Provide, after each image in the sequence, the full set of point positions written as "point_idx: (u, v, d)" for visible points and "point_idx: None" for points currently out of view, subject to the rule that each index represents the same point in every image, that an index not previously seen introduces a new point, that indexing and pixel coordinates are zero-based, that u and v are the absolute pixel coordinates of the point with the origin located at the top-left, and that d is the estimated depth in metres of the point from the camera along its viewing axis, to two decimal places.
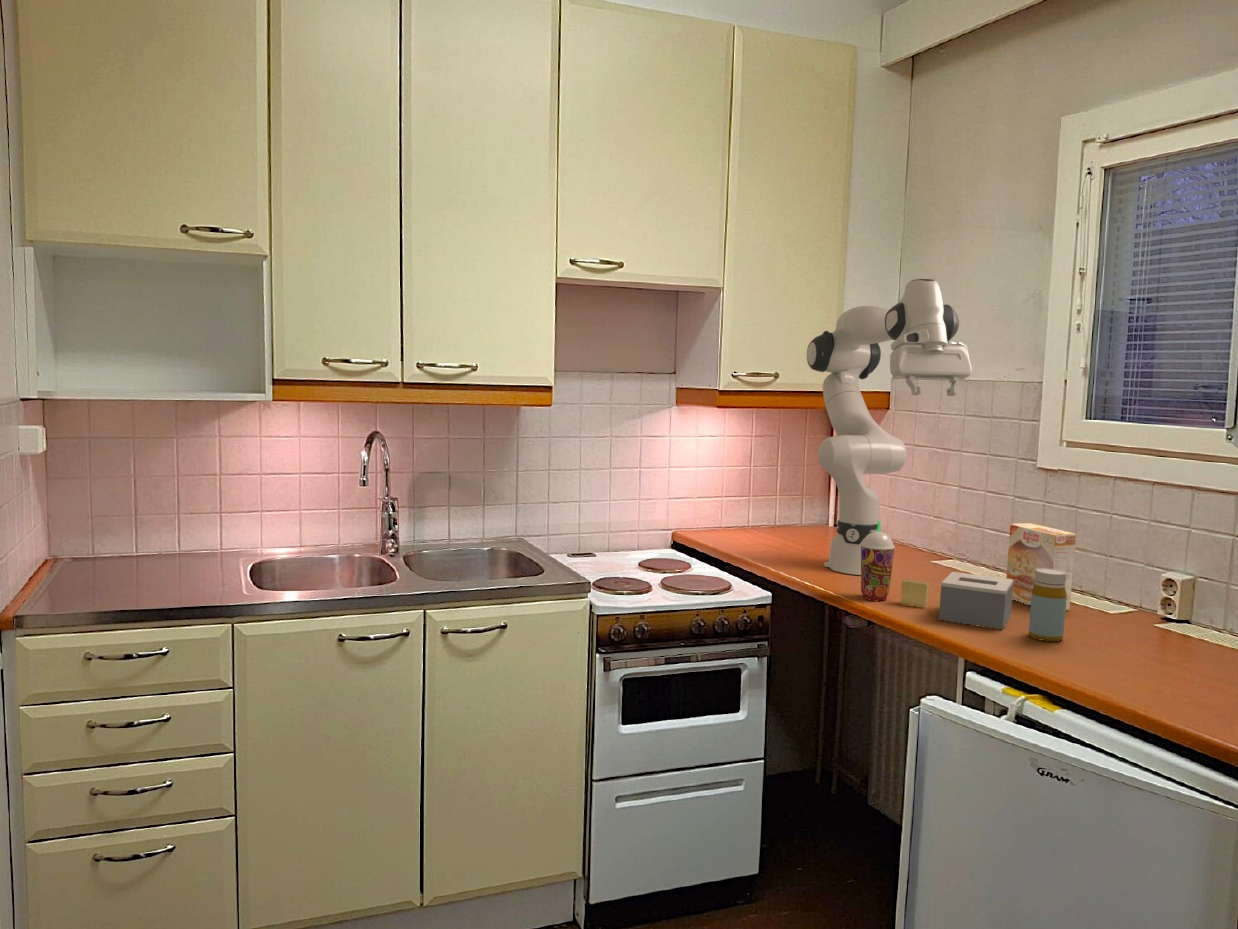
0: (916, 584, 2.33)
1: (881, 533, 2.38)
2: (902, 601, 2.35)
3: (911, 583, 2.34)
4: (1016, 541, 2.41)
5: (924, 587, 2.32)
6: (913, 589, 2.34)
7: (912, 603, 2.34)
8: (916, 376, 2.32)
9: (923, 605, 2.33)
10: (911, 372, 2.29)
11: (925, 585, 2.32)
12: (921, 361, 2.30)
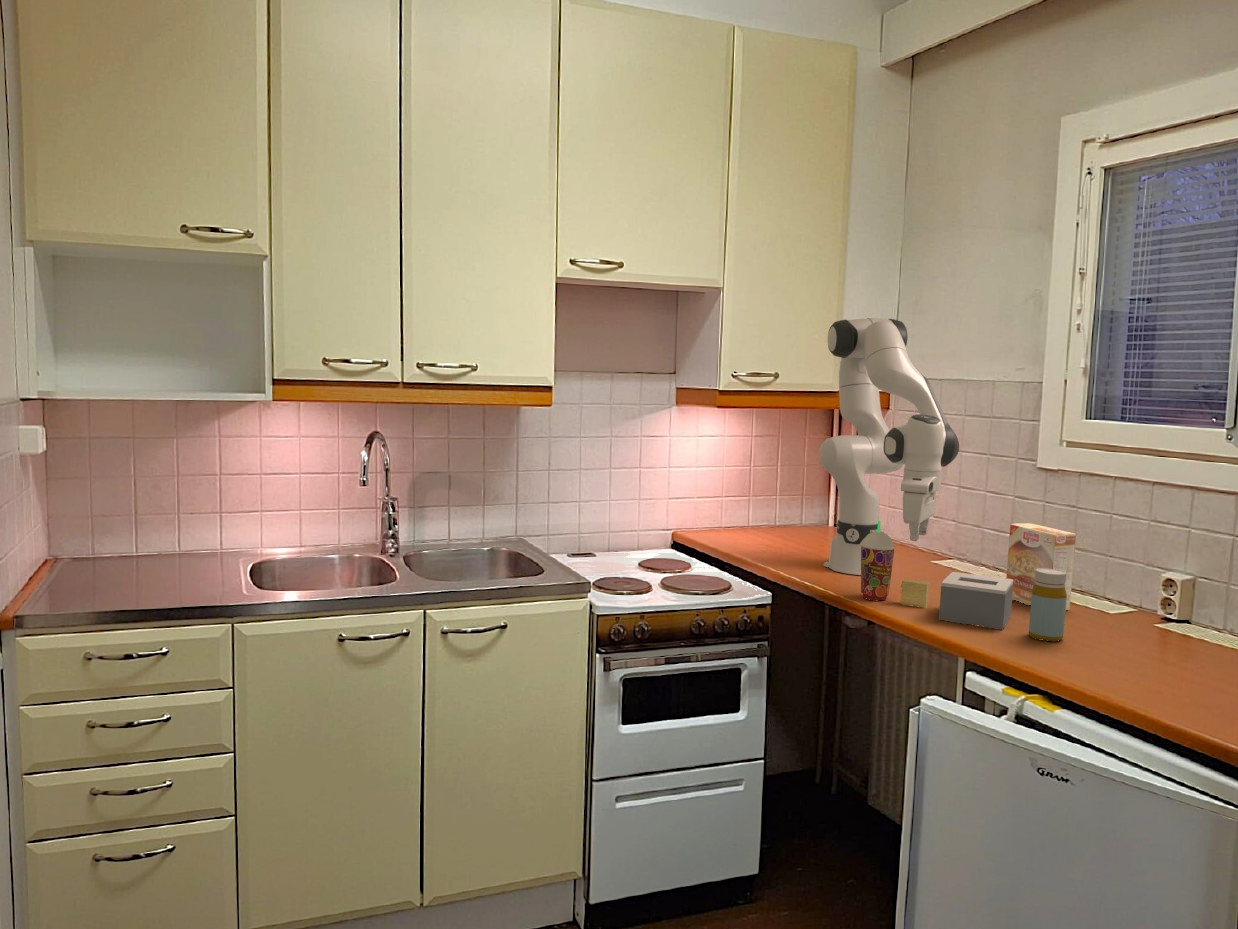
0: (916, 584, 2.33)
1: (881, 533, 2.38)
2: (902, 601, 2.35)
3: (911, 583, 2.34)
4: (1016, 541, 2.41)
5: (924, 587, 2.32)
6: (913, 589, 2.34)
7: (912, 603, 2.34)
8: None
9: (923, 605, 2.33)
10: (921, 521, 2.26)
11: (925, 585, 2.32)
12: (924, 508, 2.29)
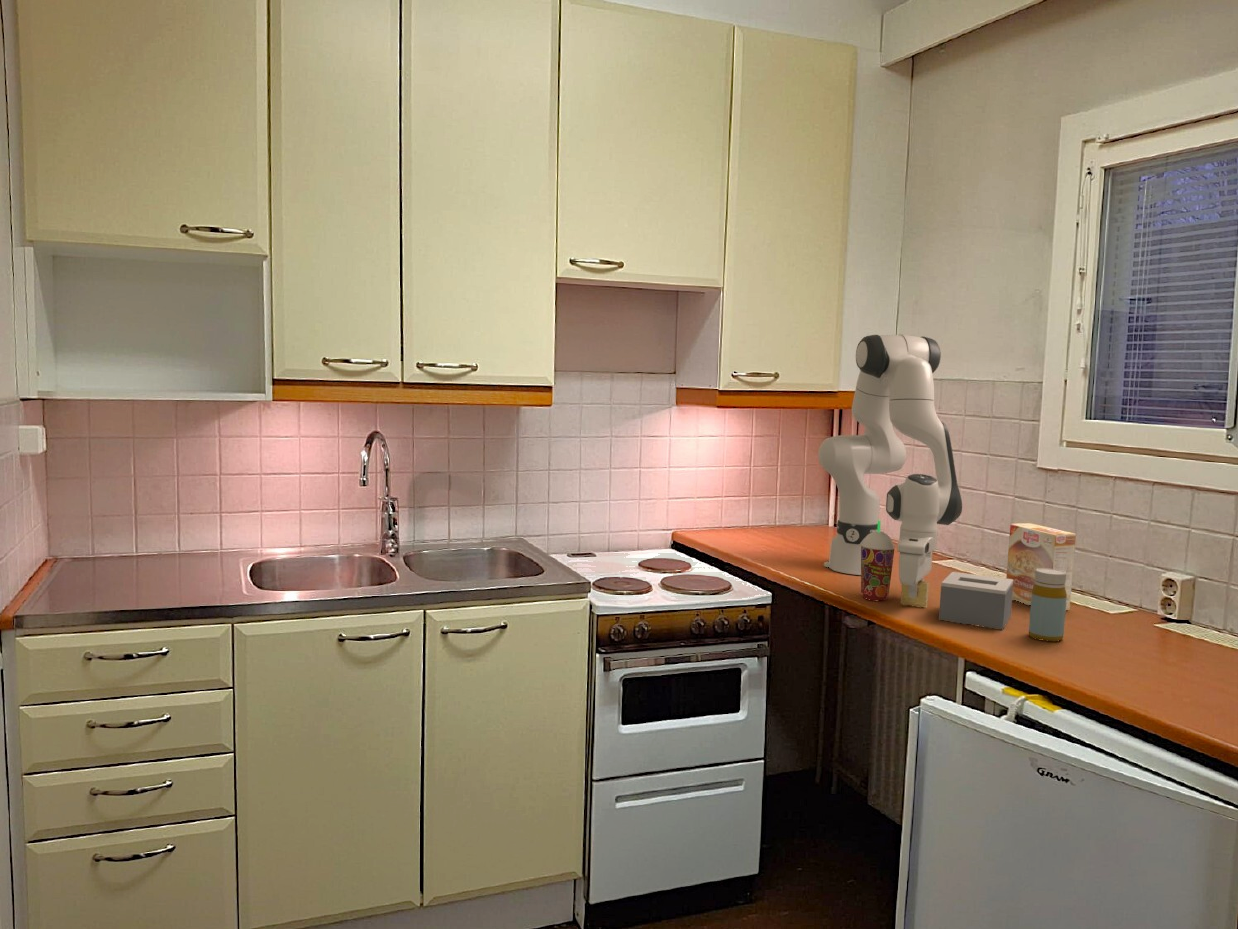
0: None
1: (881, 533, 2.38)
2: (902, 601, 2.35)
3: None
4: (1016, 541, 2.41)
5: (925, 587, 2.32)
6: None
7: (912, 603, 2.34)
8: None
9: (923, 605, 2.33)
10: (917, 582, 2.28)
11: (925, 585, 2.32)
12: (921, 568, 2.30)
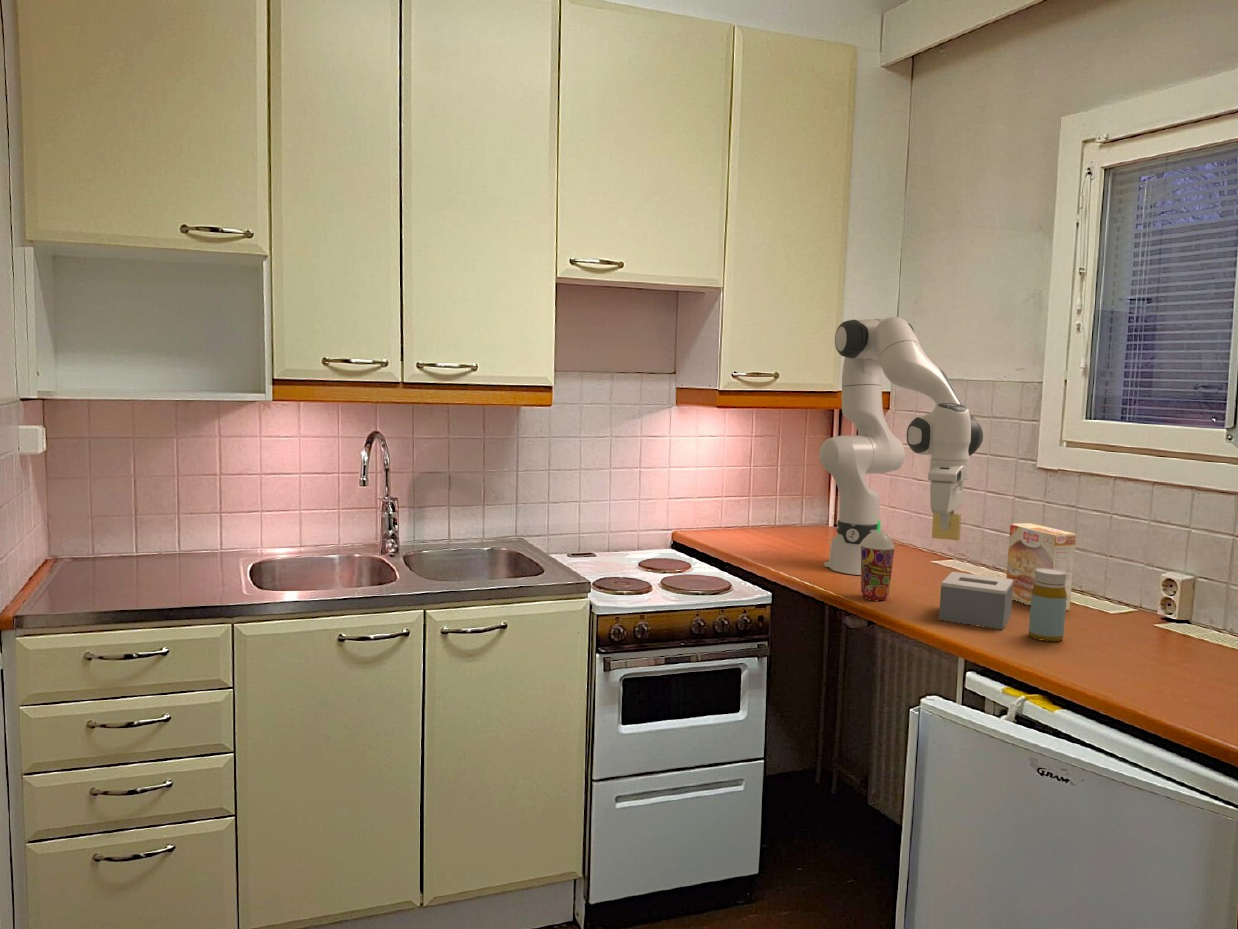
0: None
1: (881, 533, 2.38)
2: (933, 534, 2.28)
3: None
4: (1016, 541, 2.41)
5: (957, 518, 2.25)
6: None
7: (944, 535, 2.27)
8: None
9: (955, 537, 2.25)
10: (949, 511, 2.21)
11: (957, 516, 2.25)
12: (952, 498, 2.23)
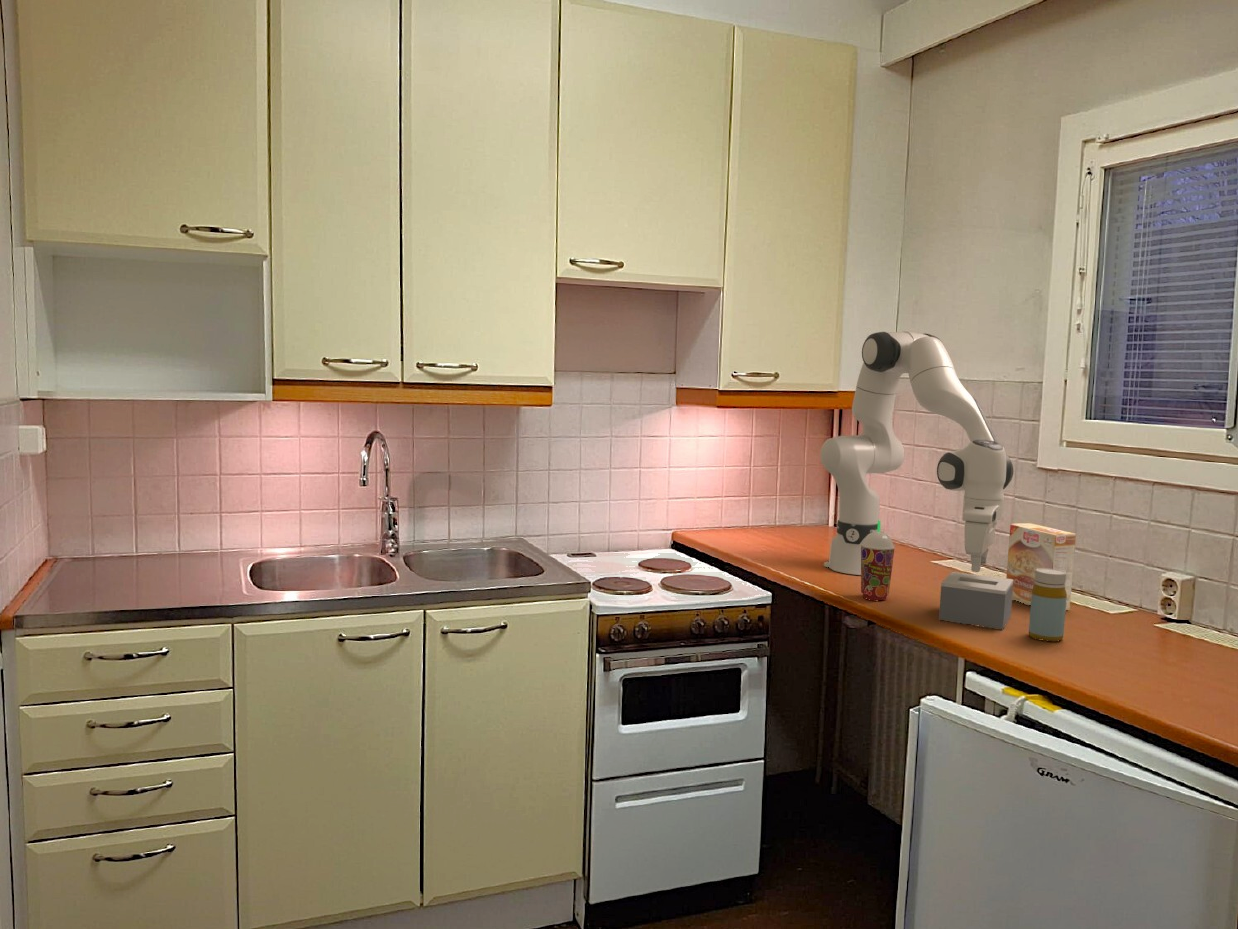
0: None
1: (881, 533, 2.38)
2: None
3: None
4: (1016, 541, 2.41)
5: None
6: None
7: None
8: None
9: None
10: (983, 552, 2.16)
11: None
12: (986, 538, 2.18)
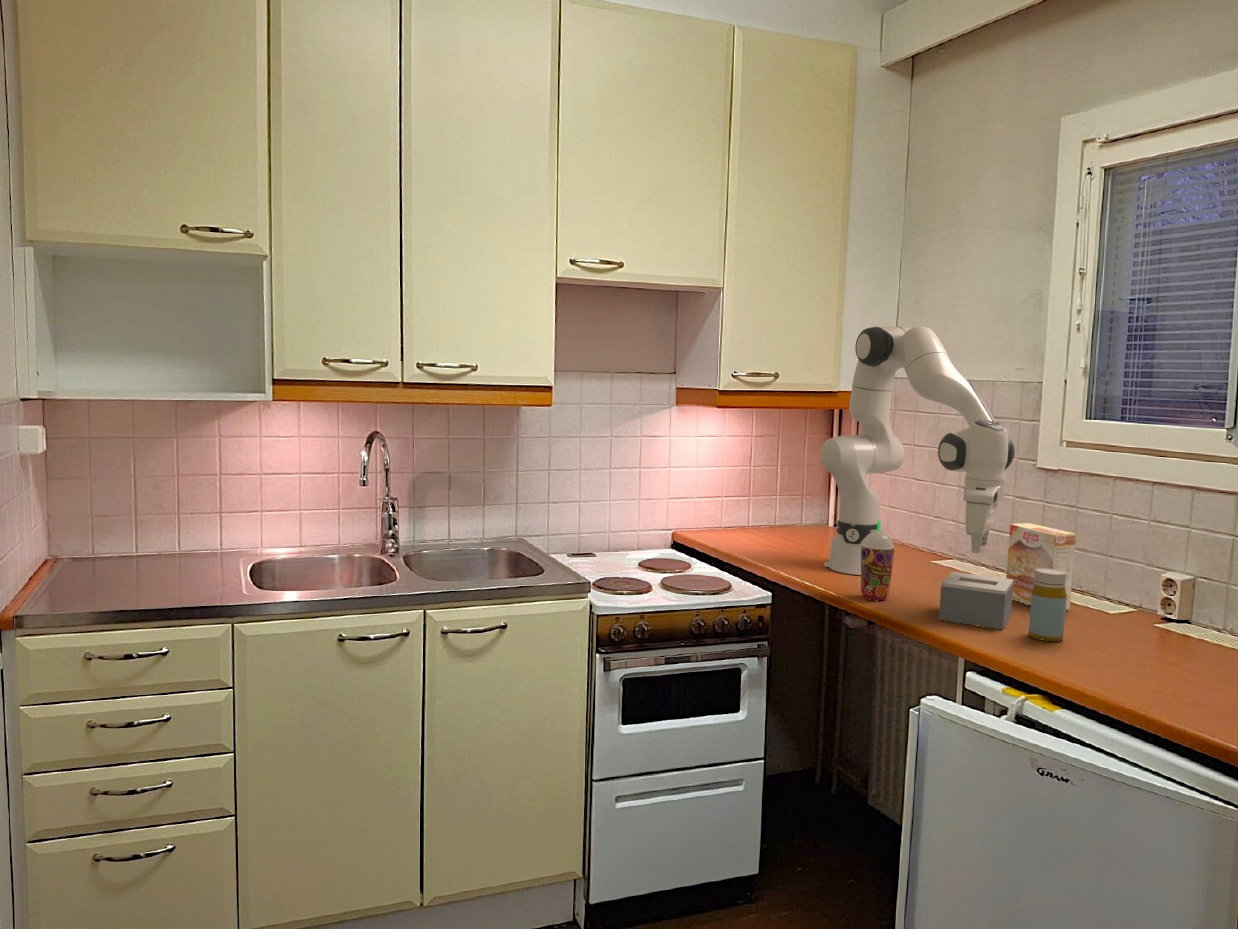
0: None
1: (881, 533, 2.38)
2: None
3: None
4: (1016, 541, 2.41)
5: None
6: None
7: None
8: None
9: None
10: (984, 533, 2.16)
11: None
12: (987, 518, 2.18)
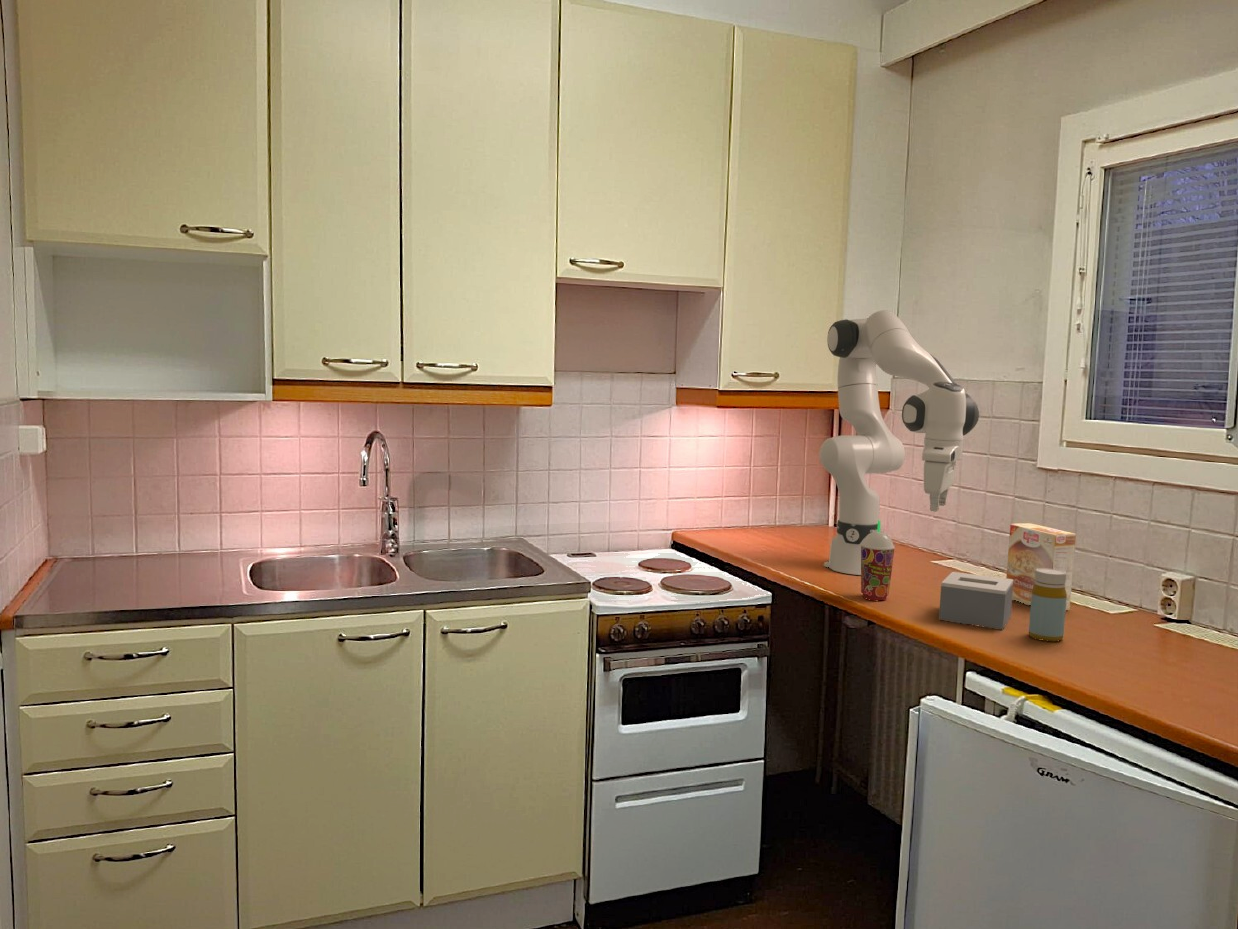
0: None
1: (881, 533, 2.38)
2: None
3: None
4: (1016, 541, 2.41)
5: None
6: None
7: None
8: None
9: None
10: (942, 491, 2.21)
11: None
12: (945, 478, 2.23)
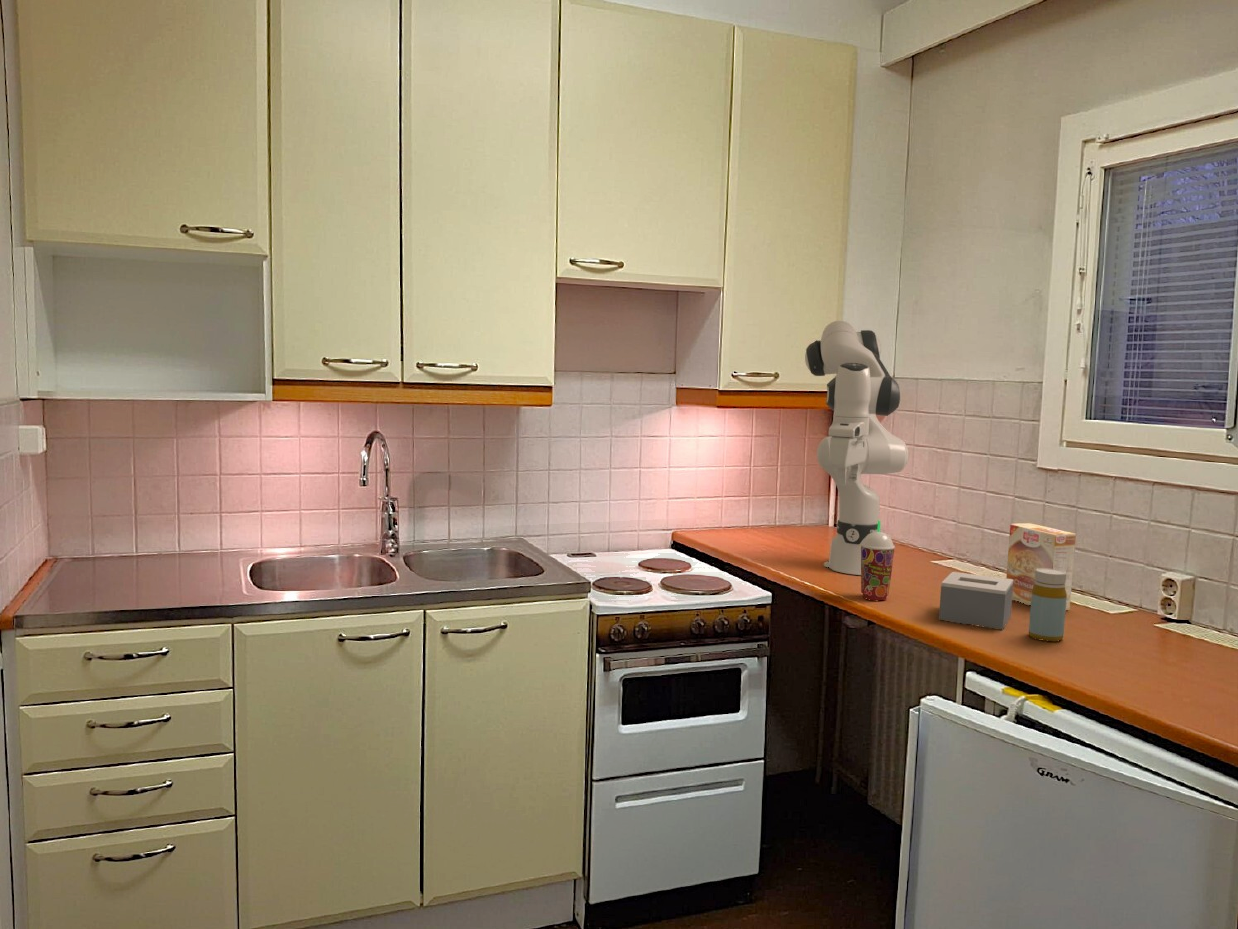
0: None
1: (881, 533, 2.38)
2: None
3: None
4: (1016, 541, 2.41)
5: None
6: None
7: None
8: None
9: None
10: (848, 465, 2.33)
11: None
12: (852, 453, 2.35)
